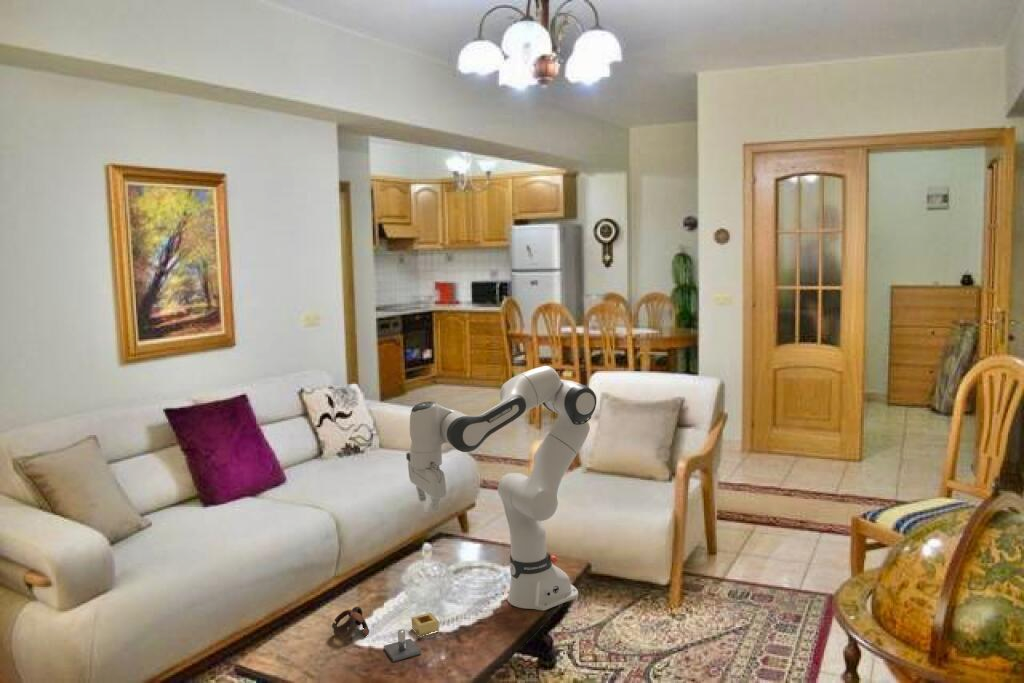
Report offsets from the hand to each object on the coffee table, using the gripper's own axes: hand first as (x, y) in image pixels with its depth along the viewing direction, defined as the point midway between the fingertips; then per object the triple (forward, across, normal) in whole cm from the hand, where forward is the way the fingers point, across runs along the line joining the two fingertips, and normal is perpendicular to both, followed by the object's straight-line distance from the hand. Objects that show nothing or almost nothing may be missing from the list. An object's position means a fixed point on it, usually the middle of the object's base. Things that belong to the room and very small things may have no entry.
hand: (428, 505), depth 238 cm
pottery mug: (+38, +8, +22) cm, 44 cm away
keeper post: (+37, -9, +13) cm, 40 cm away
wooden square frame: (+37, -1, +3) cm, 37 cm away
